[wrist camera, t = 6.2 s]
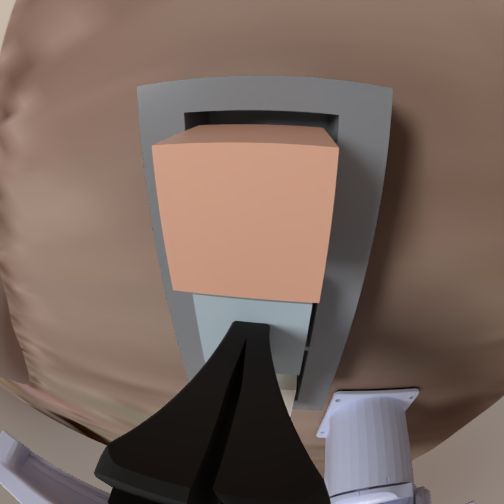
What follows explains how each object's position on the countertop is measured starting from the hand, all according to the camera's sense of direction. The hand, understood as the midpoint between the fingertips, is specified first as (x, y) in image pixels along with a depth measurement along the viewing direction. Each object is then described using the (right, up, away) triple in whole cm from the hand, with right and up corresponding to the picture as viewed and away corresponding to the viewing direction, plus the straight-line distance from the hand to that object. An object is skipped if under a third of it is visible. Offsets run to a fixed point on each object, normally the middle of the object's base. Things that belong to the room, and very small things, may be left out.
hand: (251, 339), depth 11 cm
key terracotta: (0, +6, -1) cm, 6 cm away
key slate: (+1, +2, +3) cm, 4 cm away
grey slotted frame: (+1, +3, +5) cm, 6 cm away
